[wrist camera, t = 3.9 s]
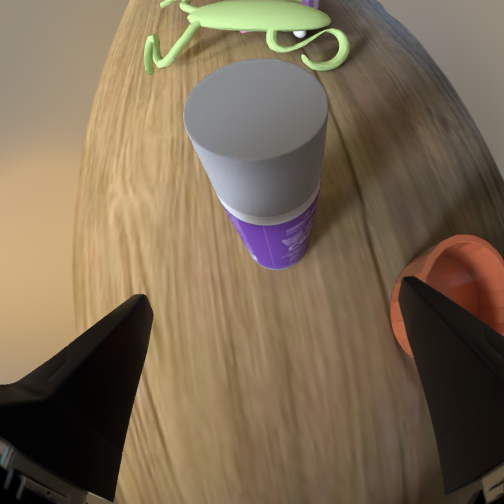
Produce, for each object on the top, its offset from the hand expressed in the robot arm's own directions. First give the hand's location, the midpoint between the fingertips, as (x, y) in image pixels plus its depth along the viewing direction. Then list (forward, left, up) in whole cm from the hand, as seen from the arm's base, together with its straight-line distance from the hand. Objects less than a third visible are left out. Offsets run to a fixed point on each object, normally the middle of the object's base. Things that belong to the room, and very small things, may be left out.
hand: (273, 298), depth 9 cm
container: (+4, +3, -12) cm, 13 cm away
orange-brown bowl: (+7, -11, -12) cm, 17 cm away
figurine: (+25, +23, -12) cm, 36 cm away
